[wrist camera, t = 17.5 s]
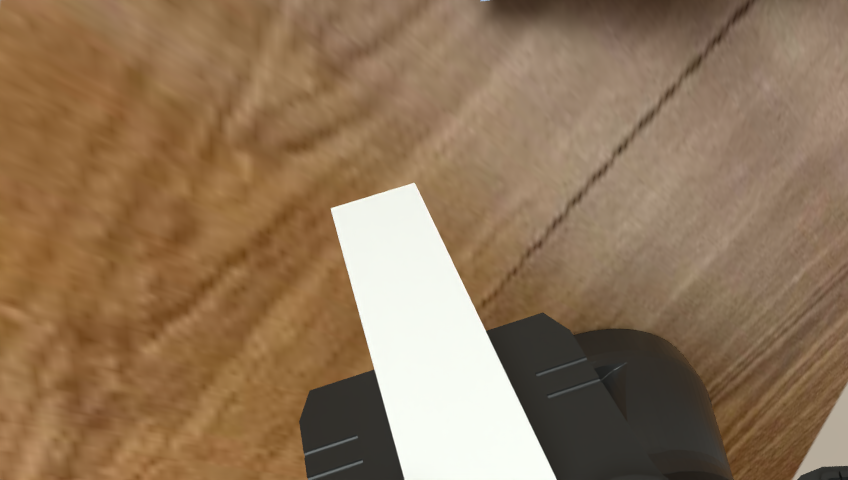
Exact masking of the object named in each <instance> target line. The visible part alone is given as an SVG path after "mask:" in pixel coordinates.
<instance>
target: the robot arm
mask: <svg viewBox="0 0 848 480" xmlns="http://www.w3.org/2000/svg"><path fill="white" fill-rule="evenodd" d="M331 211H332V215H333V219H334V222H335V226H336V230H337V233H338V237H339V241H340V244H341V248H342V252H343V255H344V259H345V263H346V266H347V270H348V274H349V277H350V281H351V285H352V288H353V292H354V296H355V299H356V303H357V307H358V310H359V314H360V318H361V321H362V325H363V329H364V332H365V336H366V340H367V343H368V347H369V351H370V354H371V358H372V362H373V365H374V369H375V370H372V371H369V372H366V373H363V374H359V375H356V376H353V377H350V378H347V379H344V380H341V381H338V382H335V383H332V384H329V385H326V386H323V387H320V388H316V389H313V390H310V391H309V394H308V397H307V400H306V403H305V406H304V409H303V412H302V415H301V418H300V421H299V422H300V430H301V437H302V444H303V451H304V454H305V465H306V472H307V478H308V480H734V479H733V477H732V474H731V470H730V467H729V463H728V460H727V456H726V453H725V449H724V446H723V442H722V439H721V435H720V432H719V428H718V425H717V422H716V418H715V415H714V412H713V409H712V404H711V401H710V397H709V394H708V392H707V390H706V388H705V386H704V384H703V382H702V380H701V379H700V377H699V376H698V374H697V373H696V372H695V370H694V369H693V368H692V366H691V365H690V364H689V362H688V361H687V360H686V358H685V357H684V356H683V355H682V353H681V352H680V351H679V350H678V349H677V348H676V347H675V346H673V345H672V344H671V343H669V342H668V341H666V340H664V339H662V338H660V337H658V336H655V335H653V334H650V333H646V332H642V331H637V330H628V329H606V330H597V331H590V332H586V333H581V334H577V335H573V334H572V333H571V331H570V330H569V329H567V328H565V327H564V326H562V325H561V324H559V323H558V322H556V321H555V320H553V319H552V318H550V317H549V316H547V315H546V314H544V313H540V314H537V315H534V316H531V317H528V318H525V319H522V320H519V321H516V322H513V323H509V324H506V325H503V326H500V327H497V328H494V329H491V330H488V331H485V329H484V327H483V325H482V323H481V320H480V318H479V316H478V314H477V312H476V310H475V308H474V306H473V304H472V302H471V300H470V298H469V295H468V293H467V291H466V289H465V287H464V285H463V283H462V281H461V279H460V277H459V275H458V272H457V270H456V268H455V266H454V264H453V262H452V260H451V258H450V256H449V254H448V252H447V249H446V247H445V245H444V243H443V241H442V239H441V237H440V235H439V233H438V231H437V229H436V227H435V224H434V222H433V220H432V218H431V216H430V214H429V212H428V210H427V208H426V206H425V204H424V201H423V199H422V197H421V195H420V193H419V191H418V189H417V187H416V185H415V183H412V184H409V185H406V186H402V187H399V188H396V189H393V190H389V191H386V192H383V193H380V194H376V195H373V196H370V197H367V198H363V199H360V200H357V201H353V202H350V203H347V204H344V205H340V206H337V207H334V208H331ZM798 480H848V466H835V467H821V468H819V469H816V470H814V471H811V472H809V473H806V474H804V475H801V476H800V478H799V479H798Z"/></svg>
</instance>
